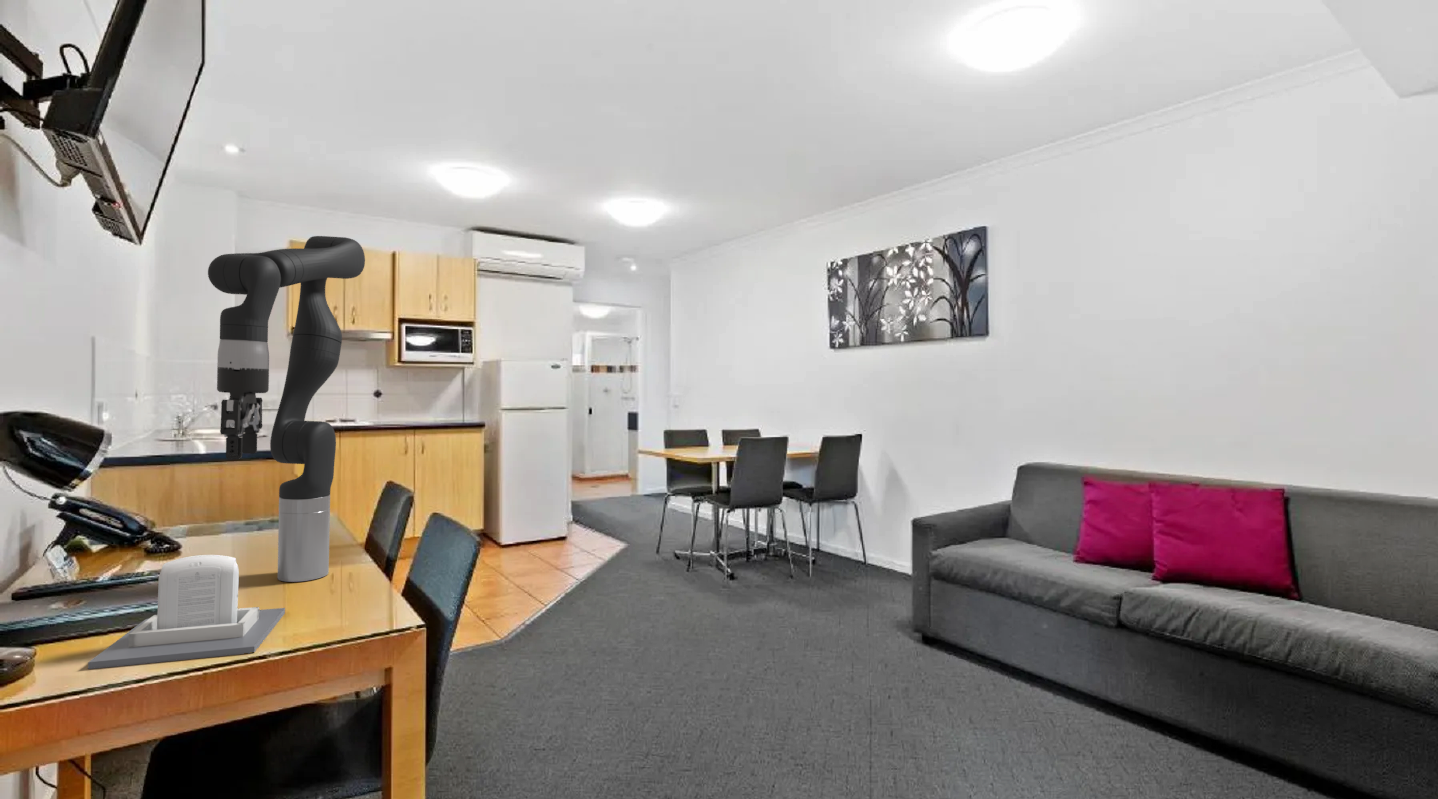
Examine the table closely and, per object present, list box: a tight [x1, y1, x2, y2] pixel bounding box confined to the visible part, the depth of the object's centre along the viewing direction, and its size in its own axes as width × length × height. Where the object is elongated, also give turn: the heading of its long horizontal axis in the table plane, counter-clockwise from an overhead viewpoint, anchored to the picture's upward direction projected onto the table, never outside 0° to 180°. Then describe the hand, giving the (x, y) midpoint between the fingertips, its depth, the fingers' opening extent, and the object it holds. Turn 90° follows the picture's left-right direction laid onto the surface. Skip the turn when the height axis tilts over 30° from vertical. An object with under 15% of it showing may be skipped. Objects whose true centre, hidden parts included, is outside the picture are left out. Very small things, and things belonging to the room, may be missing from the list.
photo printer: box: [156, 554, 240, 630], centre depth 105 cm, size 10×4×12 cm, turn 121°
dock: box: [87, 606, 286, 670], centre depth 105 cm, size 18×20×3 cm
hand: (241, 455), depth 117 cm, fingers open, 8 cm apart
